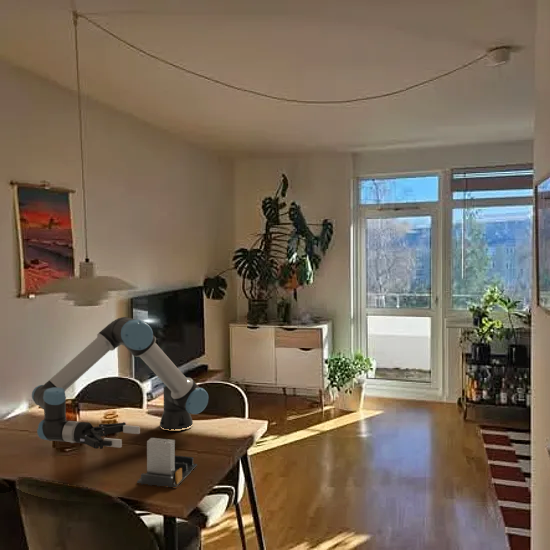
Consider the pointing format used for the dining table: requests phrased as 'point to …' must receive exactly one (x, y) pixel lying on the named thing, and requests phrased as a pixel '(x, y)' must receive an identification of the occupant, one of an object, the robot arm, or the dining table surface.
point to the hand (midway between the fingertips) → (130, 436)
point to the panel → (161, 457)
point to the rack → (181, 472)
